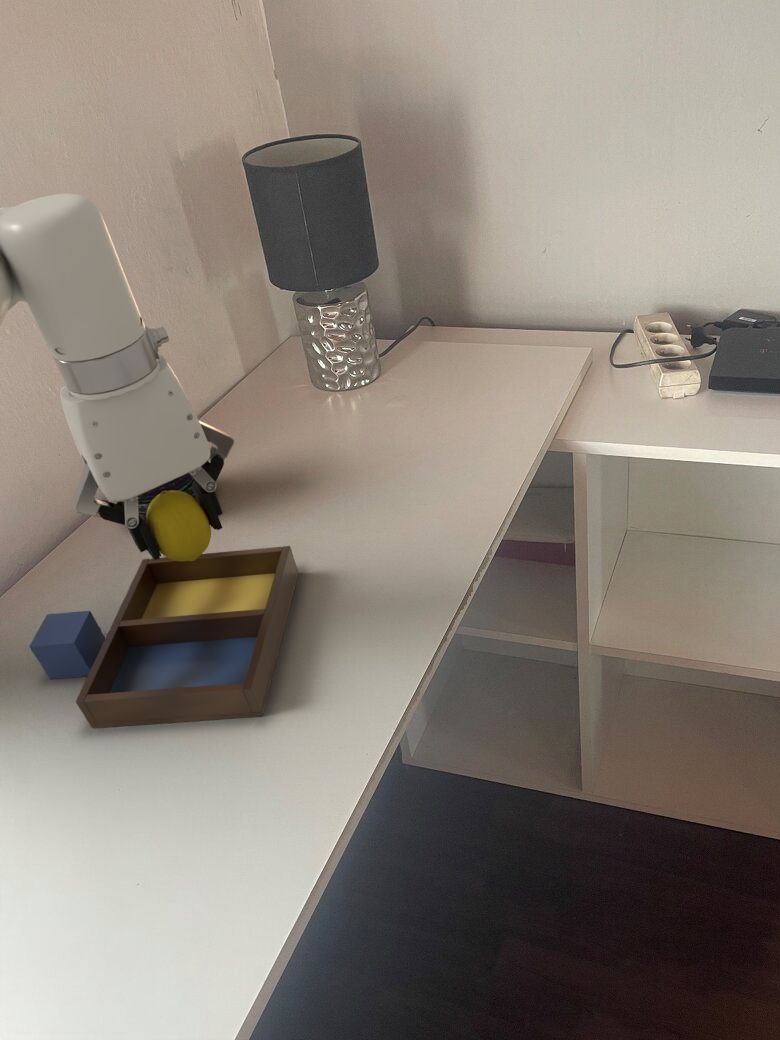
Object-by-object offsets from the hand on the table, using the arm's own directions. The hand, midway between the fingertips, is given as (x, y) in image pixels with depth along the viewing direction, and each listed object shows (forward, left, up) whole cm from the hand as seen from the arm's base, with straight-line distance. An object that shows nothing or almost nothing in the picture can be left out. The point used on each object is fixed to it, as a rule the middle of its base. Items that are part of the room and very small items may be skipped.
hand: (183, 536), depth 82 cm
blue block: (-13, -6, -10) cm, 17 cm away
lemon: (0, 0, -3) cm, 3 cm away
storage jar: (-11, +20, -10) cm, 25 cm away
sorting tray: (0, -5, -10) cm, 11 cm away
